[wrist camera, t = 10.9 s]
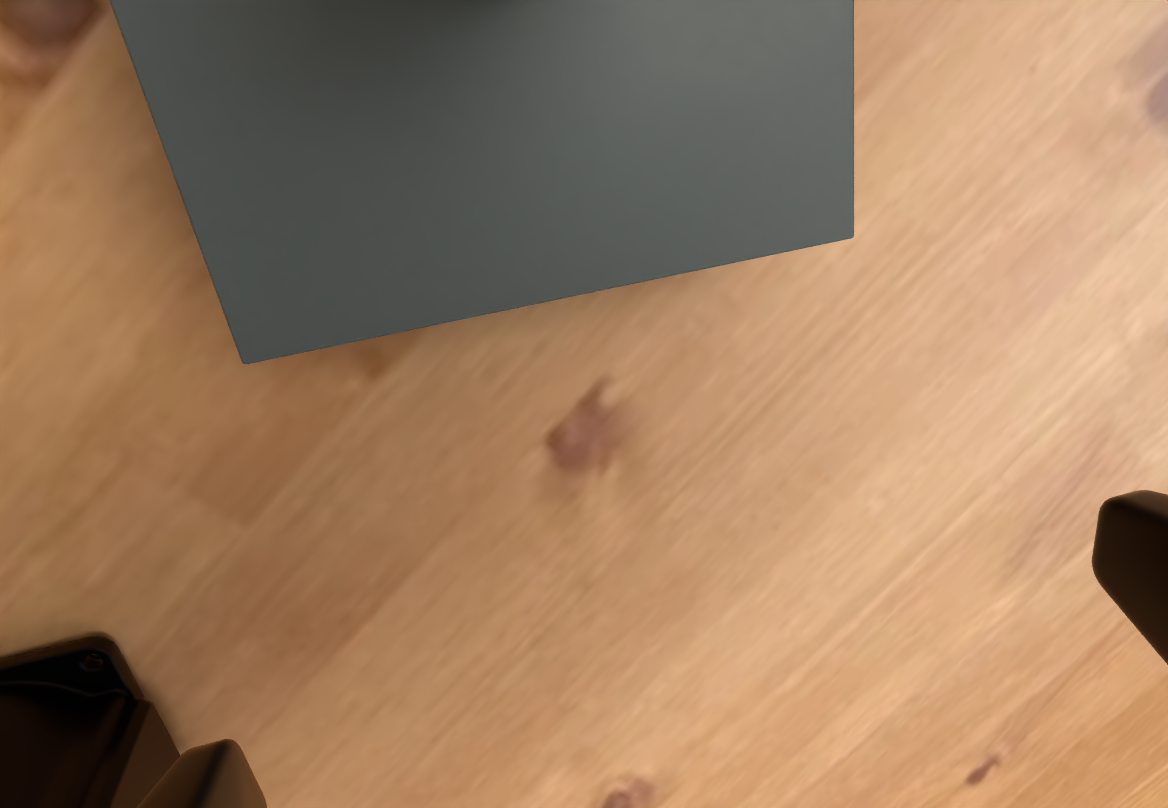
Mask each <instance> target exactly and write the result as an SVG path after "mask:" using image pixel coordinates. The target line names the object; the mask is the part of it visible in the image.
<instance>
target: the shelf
mask: <svg viewBox="0 0 1168 808" xmlns="http://www.w3.org/2000/svg"><path fill="white" fill-rule="evenodd" d="M110 3H111V6H112V8H113V11H114V14H115V17H116V19H117V22H118V25H119V28H120V30H121V33H122V36H123V39H124V41H125V44H126V47H127V49H128V52H129V55H130V58H131V60H132V63H133V66H134V69H135V71H136V74H137V77H138V79H139V82H140V85H141V88H142V90H143V93H144V96H145V99H146V101H147V104H148V107H149V110H150V112H151V115H152V118H153V120H154V123H155V126H156V129H157V131H158V134H159V137H160V140H161V142H162V145H163V148H164V151H165V153H166V156H167V159H168V161H169V164H170V167H171V170H172V172H173V175H174V178H175V181H176V183H177V186H178V189H179V191H180V194H181V197H182V200H183V202H184V205H185V208H186V211H187V213H188V216H189V219H190V222H191V224H192V227H193V230H194V232H195V235H196V238H197V241H198V243H199V246H200V249H201V252H202V254H203V257H204V260H205V262H206V265H207V268H208V271H209V273H210V276H211V279H212V282H213V284H214V287H215V290H216V293H217V295H218V298H219V301H220V303H221V306H222V309H223V312H224V314H225V317H226V320H227V323H228V325H229V328H230V331H231V333H232V336H233V339H234V342H235V344H236V347H237V350H238V353H239V355H240V358H241V361H242V363H243V364H250V363H255V362H260V361H264V360H269V359H274V358H279V357H284V356H288V355H293V354H298V353H303V352H308V351H312V350H317V349H322V348H327V347H332V346H336V345H341V344H346V343H351V342H356V341H360V340H365V339H370V338H375V337H380V336H384V335H389V334H394V333H399V332H404V331H408V330H413V329H418V328H423V327H428V326H432V325H437V324H442V323H447V322H452V321H456V320H461V319H466V318H471V317H476V316H480V315H485V314H490V313H495V312H500V311H504V310H509V309H514V308H519V307H524V306H528V305H533V304H538V303H543V302H548V301H552V300H557V299H562V298H567V297H572V296H576V295H581V294H586V293H591V292H596V291H600V290H605V289H610V288H615V287H620V286H624V285H629V284H634V283H639V282H644V281H648V280H653V279H658V278H663V277H668V276H672V275H677V274H682V273H687V272H692V271H697V270H701V269H706V268H711V267H716V266H721V265H725V264H730V263H735V262H740V261H745V260H749V259H754V258H759V257H764V256H769V255H773V254H778V253H783V252H788V251H793V250H797V249H802V248H807V247H812V246H817V245H821V244H826V243H831V242H836V241H841V240H845V239H850V238H853V236H854V0H110Z"/></svg>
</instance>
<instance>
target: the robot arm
mask: <svg viewBox="0 0 1168 808" xmlns="http://www.w3.org/2000/svg"><path fill="white" fill-rule="evenodd" d="M1092 567H1093V571H1094V574H1095V576H1096V578H1097V580H1098V582H1099V583H1100V585H1101V586H1102V587H1103V589H1104V590H1105V591H1106V592H1107V593H1108V595H1109V596H1110V597H1111V598H1112V599H1113V600H1114V602H1115V603H1116V604H1117V605H1118V606H1119V608H1120V609H1121V610H1122V611H1123V612H1124V613H1125V615H1126V616H1127V617H1128V618H1129V619H1130V621H1131V622H1132V623H1133V624H1134V625H1135V627H1136V628H1137V629H1138V630H1139V631H1140V632H1141V634H1142V635H1143V636H1144V637H1145V638H1146V640H1147V641H1148V642H1149V643H1150V644H1151V645H1152V647H1153V648H1154V649H1155V650H1156V651H1157V653H1158V654H1159V655H1160V656H1161V657H1162V658H1163V660H1164V661H1165V662H1166V663H1167V664H1168V495H1166V494H1162V493H1158V492H1154V491H1148V490H1139V491H1134V492H1130V493H1127V494H1123V495H1119V496H1116V497H1112V498H1109V499H1108V500H1106V501H1105V502H1104V503H1103V505H1102V506H1101V508H1100V511H1099V515H1098V522H1097V529H1096V535H1095V542H1094V548H1093V555H1092ZM91 654H94V655H97V656H100V657H101V658H102V659H93V658H91V657H90V656H89V655H91ZM0 808H267V804H266V801H265V797H264V795H263V793H262V791H261V789H260V787H259V785H258V782H257V780H256V778H255V776H254V774H253V772H252V770H251V768H250V766H249V764H248V762H247V760H246V758H245V756H244V754H243V752H242V750H241V748H240V746H239V745H238V744H237V743H236V742H235V741H233V740H230V739H224V740H220V741H216V742H213V743H209V744H205V745H202V746H198V747H194V748H192V749H189V750H187V751H186V752H184V753H183V754H182V755H181V756H180V754H179V752H178V751H177V749H176V747H175V745H174V743H173V741H172V739H171V737H170V735H169V733H168V732H167V730H166V728H165V726H164V724H163V722H162V720H161V718H160V716H159V714H158V713H157V711H156V709H155V707H154V705H153V704H152V703H151V702H150V701H149V700H147V699H146V698H144V696H143V694H142V692H141V690H140V688H139V687H138V685H137V683H136V681H135V679H134V677H133V675H132V673H131V672H130V670H129V668H128V666H127V664H126V662H125V660H124V658H123V656H122V655H121V653H120V651H119V649H118V647H117V646H116V645H115V644H114V642H112V641H111V640H109V639H107V638H103V637H89V638H85V639H81V640H77V641H73V642H69V643H64V644H60V645H56V646H52V647H48V648H44V649H40V650H36V651H32V652H28V653H23V654H19V655H15V656H11V657H7V658H3V659H0Z"/></svg>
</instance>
